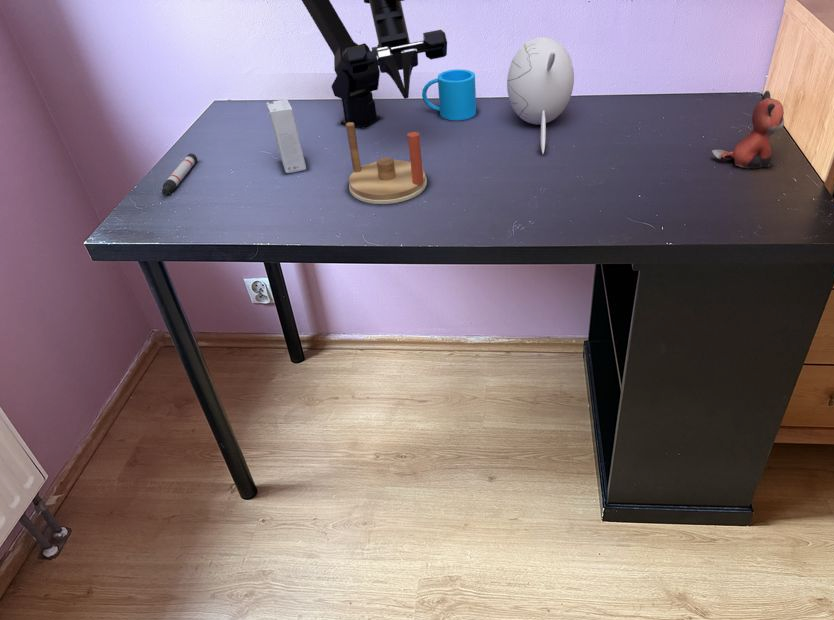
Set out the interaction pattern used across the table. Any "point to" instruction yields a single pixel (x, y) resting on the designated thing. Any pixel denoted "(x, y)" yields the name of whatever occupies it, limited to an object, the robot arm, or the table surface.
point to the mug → (454, 94)
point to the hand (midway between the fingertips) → (406, 97)
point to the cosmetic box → (286, 135)
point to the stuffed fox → (757, 136)
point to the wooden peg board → (386, 171)
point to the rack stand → (389, 201)
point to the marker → (179, 174)
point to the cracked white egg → (540, 82)
